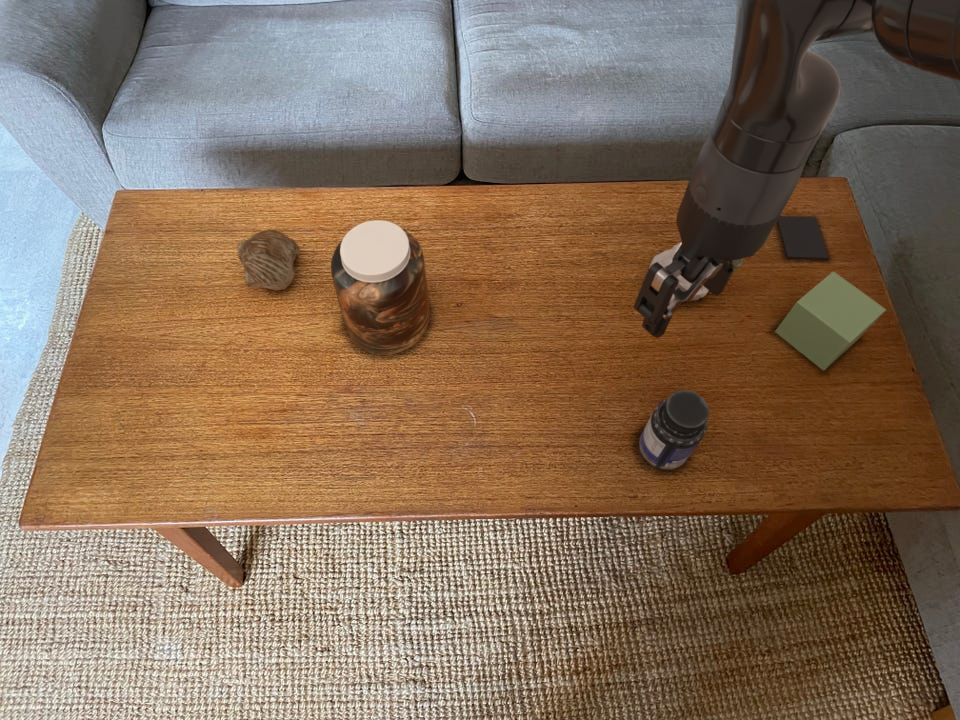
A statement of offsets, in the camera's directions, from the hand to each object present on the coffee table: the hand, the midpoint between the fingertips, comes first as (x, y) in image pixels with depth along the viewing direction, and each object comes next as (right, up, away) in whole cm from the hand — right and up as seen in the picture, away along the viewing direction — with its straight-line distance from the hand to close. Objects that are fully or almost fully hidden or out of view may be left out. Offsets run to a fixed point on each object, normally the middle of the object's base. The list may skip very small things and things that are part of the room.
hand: (682, 309), depth 65 cm
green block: (+26, -2, +24) cm, 35 cm away
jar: (-33, 0, +25) cm, 41 cm away
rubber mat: (+28, +13, +33) cm, 46 cm away
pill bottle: (+2, -16, +15) cm, 22 cm away
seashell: (-50, +7, +29) cm, 58 cm away
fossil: (+8, +6, +29) cm, 30 cm away
